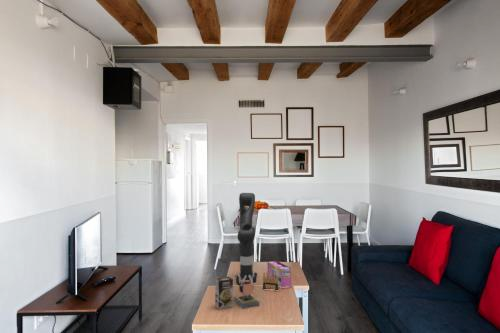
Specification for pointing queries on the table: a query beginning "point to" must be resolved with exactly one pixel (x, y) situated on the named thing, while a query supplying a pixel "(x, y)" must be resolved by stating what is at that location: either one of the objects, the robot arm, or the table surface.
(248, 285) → the collar
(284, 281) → the gum box
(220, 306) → the coffee box
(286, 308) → the table surface
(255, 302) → the post stand
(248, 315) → the table surface
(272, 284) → the ammunition clip
